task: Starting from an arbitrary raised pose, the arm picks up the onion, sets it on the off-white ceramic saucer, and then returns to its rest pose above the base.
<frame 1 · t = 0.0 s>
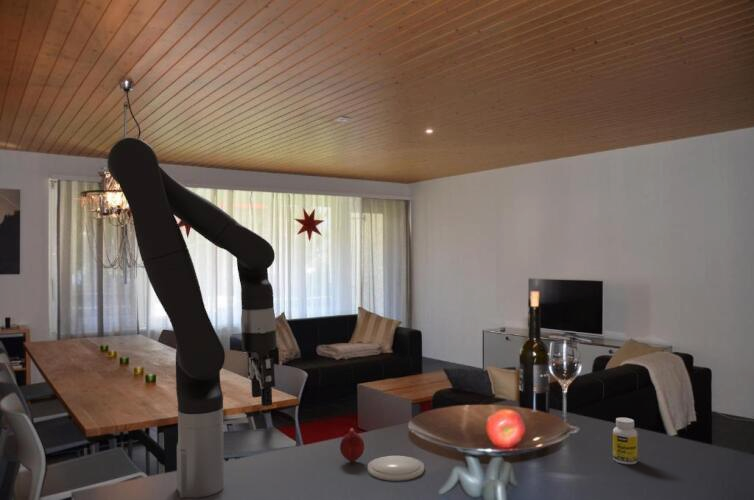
hand: (261, 401, 131), 17 cm above the table, tool pointing down, fingers open, 8 cm apart
onion: (352, 463, 140), on the table
saucer: (395, 469, 135), on the table
supplement bottle: (625, 461, 139), on the table
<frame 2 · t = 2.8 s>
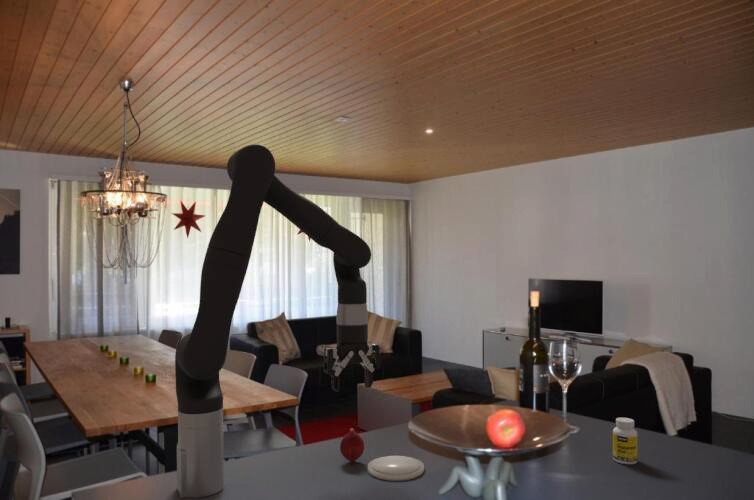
hand: (352, 389, 141), 17 cm above the table, tool pointing down, fingers open, 8 cm apart
nothing on the table moved.
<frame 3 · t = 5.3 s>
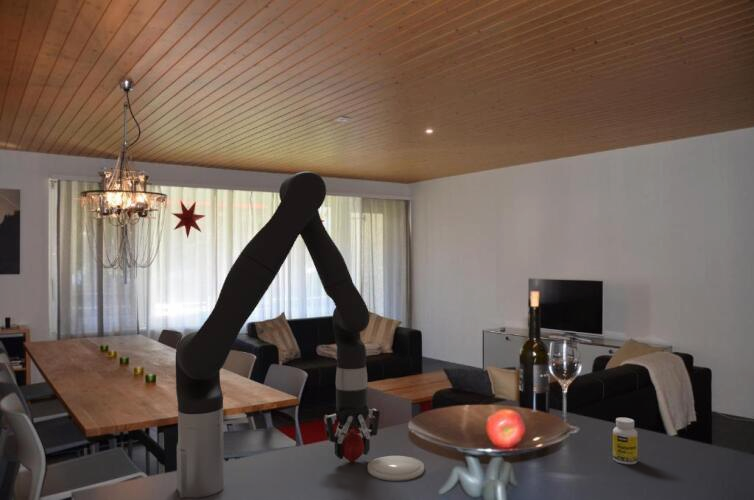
hand: (352, 455, 140), 2 cm above the table, tool pointing down, fingers closed on onion, 5 cm apart
onion: (352, 463, 140), on the table, touching gripper
everything else where it was.
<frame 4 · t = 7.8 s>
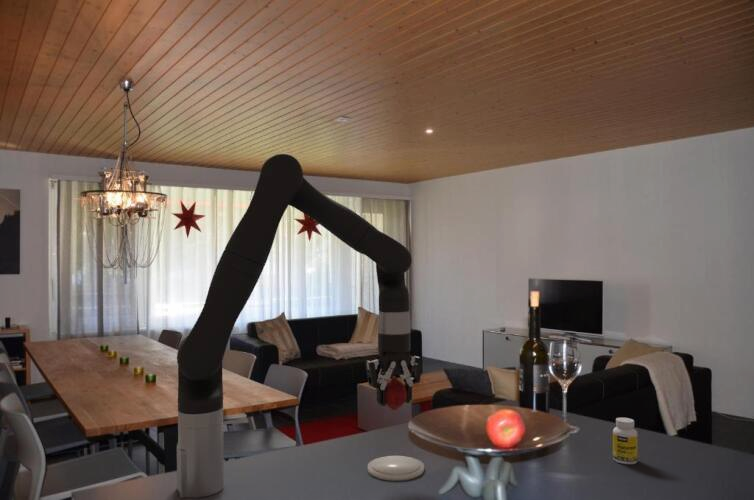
hand: (394, 403, 135), 15 cm above the table, tool pointing down, fingers closed on onion, 5 cm apart
onion: (394, 411, 135), point 13 cm above the table, touching gripper
everything else where it was.
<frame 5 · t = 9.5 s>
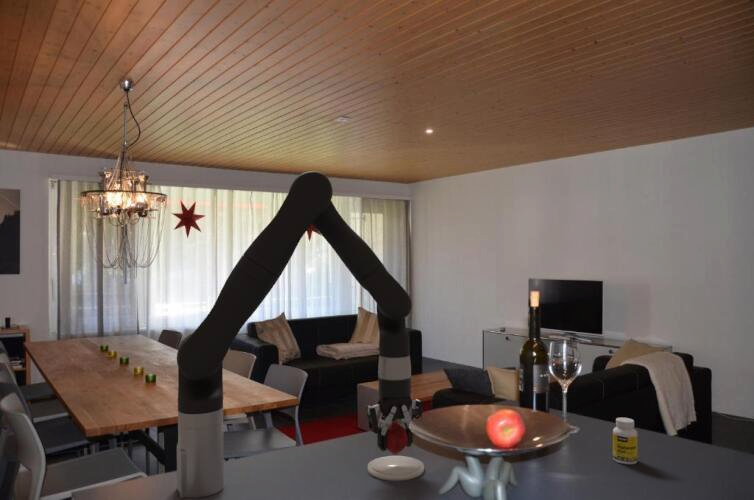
hand: (395, 447, 135), 5 cm above the table, tool pointing down, fingers closed on onion, 5 cm apart
onion: (395, 455, 135), point 3 cm above the table, touching gripper
everything else where it was.
when the fingers open (4 cm above the table, at t = 10.7 s): onion stays where it is, resting on saucer.
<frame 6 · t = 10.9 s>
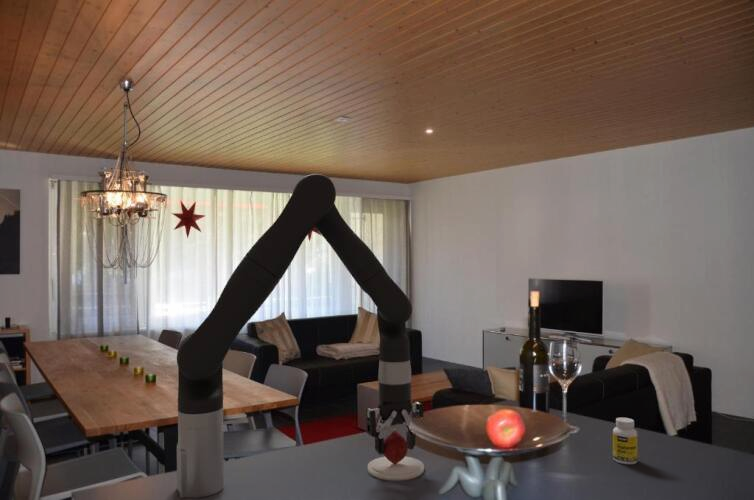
hand: (395, 450, 135), 4 cm above the table, tool pointing down, fingers open, 7 cm apart
onion: (395, 464, 135), point 1 cm above the table, touching saucer
everything else where it was.
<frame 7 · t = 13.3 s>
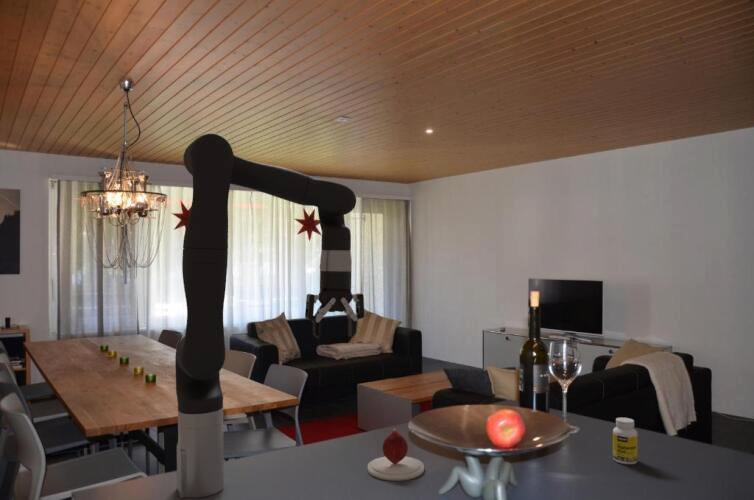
hand: (334, 337, 140), 30 cm above the table, tool pointing down, fingers open, 8 cm apart
nothing on the table moved.
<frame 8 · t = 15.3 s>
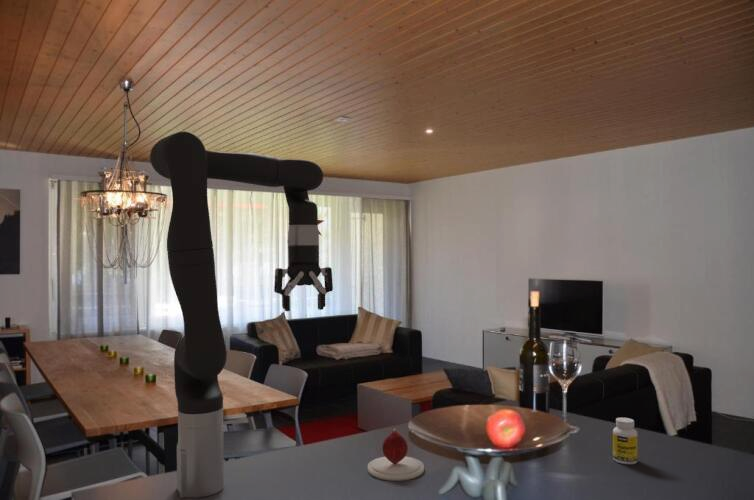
hand: (304, 310, 143), 36 cm above the table, tool pointing down, fingers open, 8 cm apart
nothing on the table moved.
at the end: onion 0.1 cm from the saucer (horizontally); onion point 1.1 cm above the table; the gripper is holding nothing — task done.
